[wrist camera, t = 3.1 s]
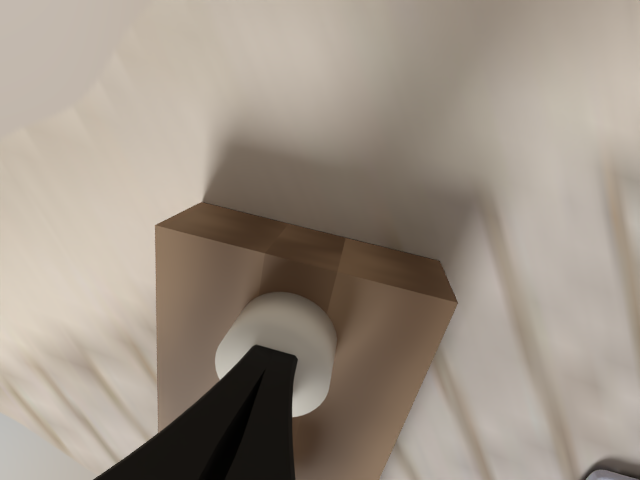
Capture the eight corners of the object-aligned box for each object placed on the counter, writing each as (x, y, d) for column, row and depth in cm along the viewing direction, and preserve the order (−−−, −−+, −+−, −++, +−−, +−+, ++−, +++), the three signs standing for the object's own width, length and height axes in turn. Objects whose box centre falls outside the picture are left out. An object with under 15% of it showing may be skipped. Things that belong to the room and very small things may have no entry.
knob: (352, 270, 13) (341, 344, 9) (334, 338, 14) (317, 430, 10) (268, 249, 13) (219, 310, 9) (258, 318, 14) (211, 399, 10)
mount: (439, 261, 12) (457, 302, 10) (320, 562, 22) (313, 626, 19) (201, 202, 13) (155, 225, 10) (186, 517, 23) (160, 574, 20)
